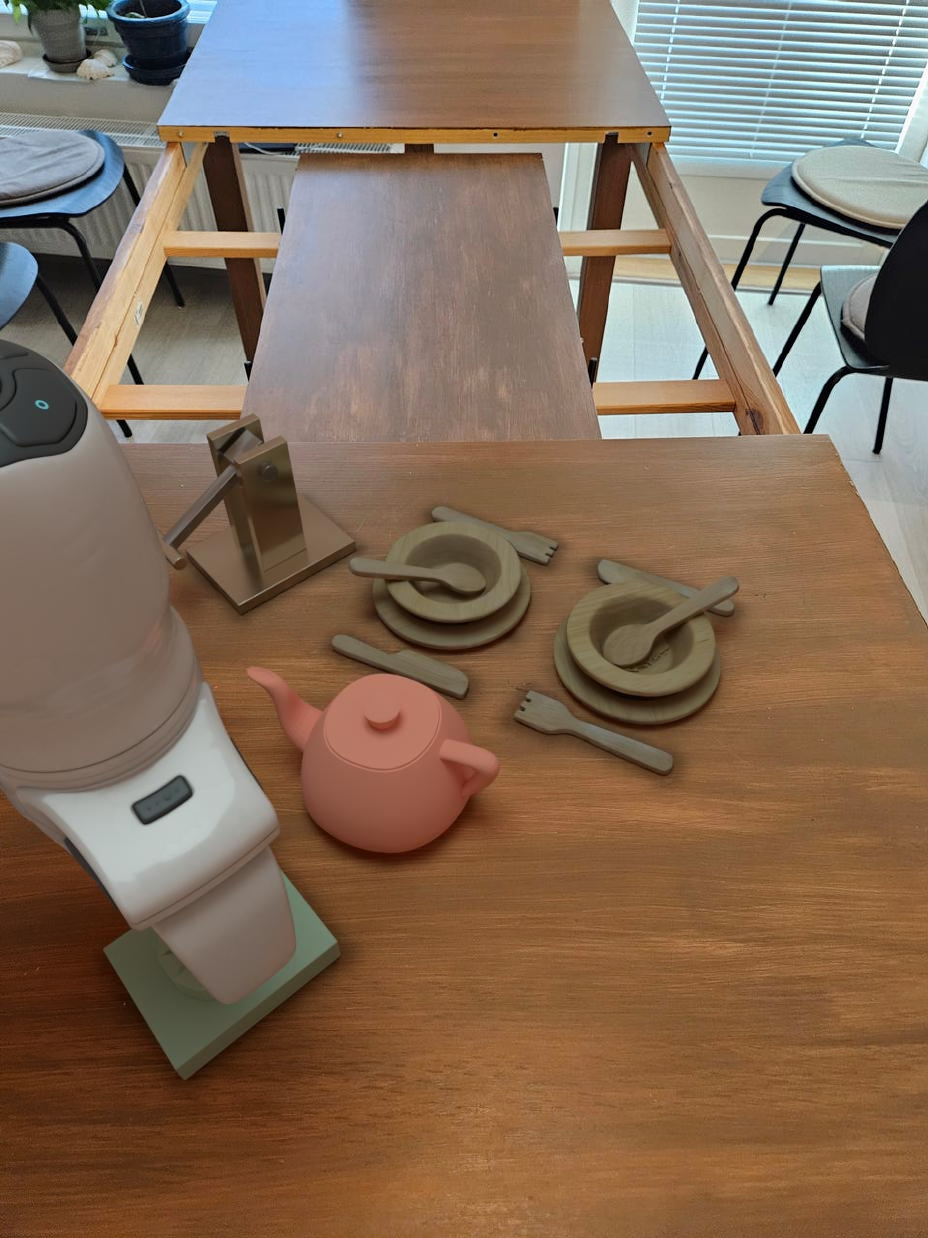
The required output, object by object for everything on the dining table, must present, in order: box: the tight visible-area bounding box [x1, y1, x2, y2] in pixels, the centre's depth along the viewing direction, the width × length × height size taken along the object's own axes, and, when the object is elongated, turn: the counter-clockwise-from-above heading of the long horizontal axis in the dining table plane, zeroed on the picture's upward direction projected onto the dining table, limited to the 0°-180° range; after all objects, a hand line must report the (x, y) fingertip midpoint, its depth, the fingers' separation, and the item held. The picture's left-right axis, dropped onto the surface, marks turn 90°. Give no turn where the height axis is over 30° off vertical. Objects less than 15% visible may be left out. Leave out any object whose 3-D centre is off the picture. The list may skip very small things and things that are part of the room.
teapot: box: [246, 666, 501, 854], centre depth 61 cm, size 12×18×10 cm
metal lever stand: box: [185, 413, 357, 615], centre depth 75 cm, size 12×9×13 cm
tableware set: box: [331, 505, 740, 776], centre depth 72 cm, size 30×20×6 cm, turn 64°
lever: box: [155, 429, 264, 571], centre depth 71 cm, size 12×5×2 cm, turn 131°
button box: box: [102, 866, 342, 1081], centre depth 54 cm, size 11×9×4 cm
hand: (176, 874), depth 47 cm, fingers closed
